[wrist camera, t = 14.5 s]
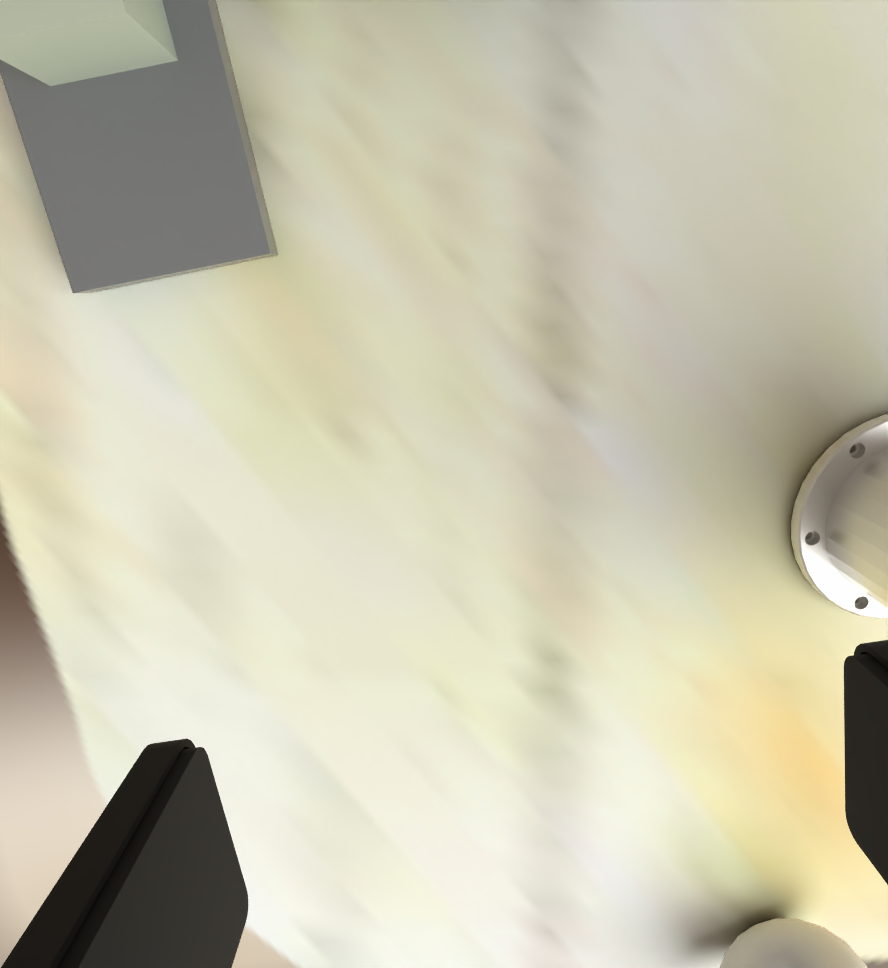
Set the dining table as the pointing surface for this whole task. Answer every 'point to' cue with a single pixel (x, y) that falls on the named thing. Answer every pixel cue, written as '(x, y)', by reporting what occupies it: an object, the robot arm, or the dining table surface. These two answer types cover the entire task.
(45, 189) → the board
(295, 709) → the dining table surface
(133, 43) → the block
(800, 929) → the donut
